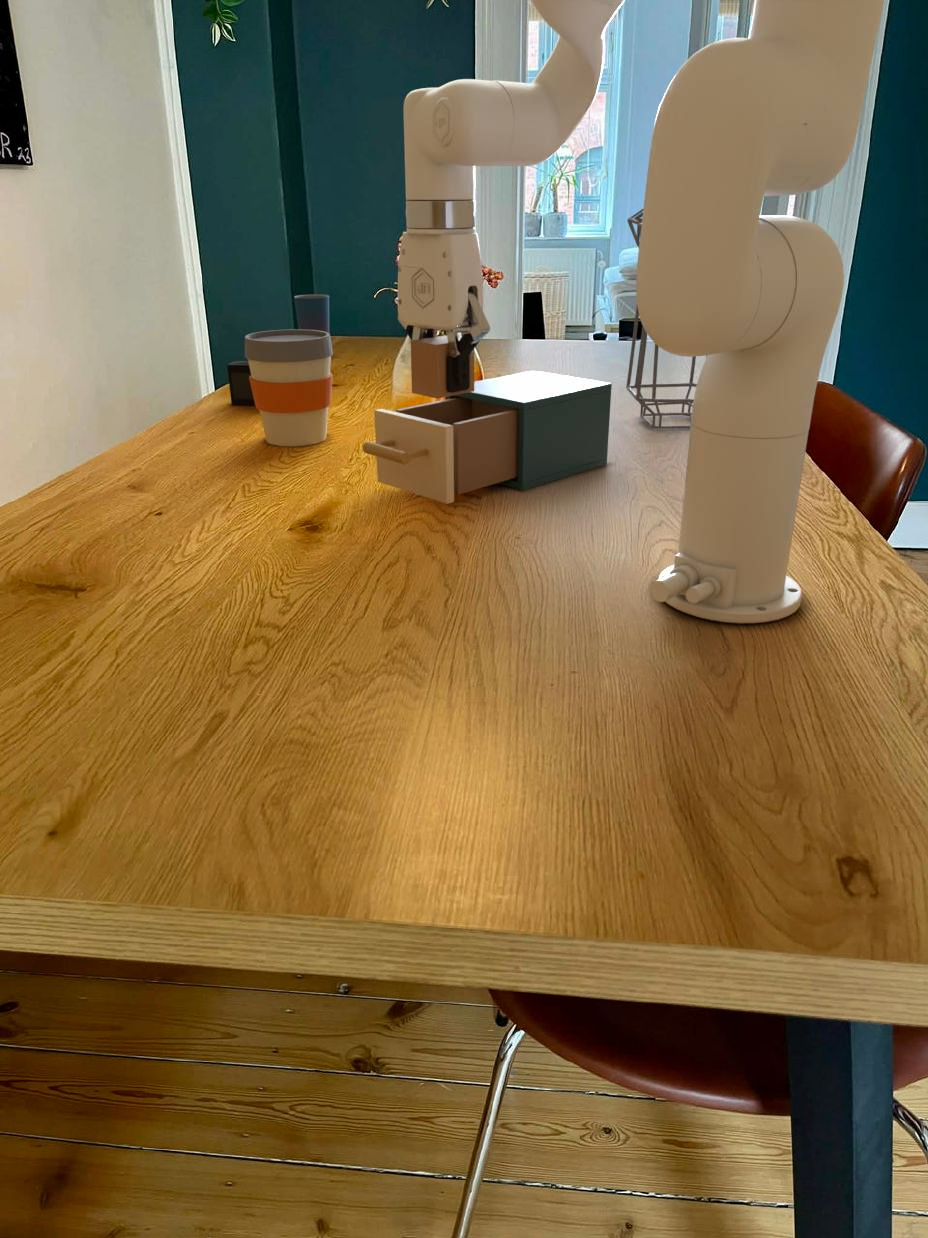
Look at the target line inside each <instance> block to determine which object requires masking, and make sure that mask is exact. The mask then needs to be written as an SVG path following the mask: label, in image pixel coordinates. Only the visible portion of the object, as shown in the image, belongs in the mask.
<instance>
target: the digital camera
mask: <svg viewBox="0 0 928 1238" xmlns="http://www.w3.org/2000/svg"><path fill="white" fill-rule="evenodd" d="M226 369H227V377H228V385H229V387H228V388H229V393H230V394H229V395H230V401H231V403H230V404H231V406H251V407H252V406H255V401H254V397H253V393H252V388H251V384H250V380H249V377H250V376H251V371H250V367H249V362H248V360H234V361H232V362H230V363H228V364H226ZM255 407H256V406H255Z"/></svg>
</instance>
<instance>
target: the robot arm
mask: <svg viewBox="0 0 928 1238" xmlns="http://www.w3.org/2000/svg"><path fill="white" fill-rule="evenodd" d="M625 1H626V0H530V2H531V3H532V5H533V6H534V8H535V10H536V12H537V13H538V14H539V16H540V18H542V20H543V21H544V22H545V23H546V24H547V26H548V27H550V28H551V29H552V30H553V31H554V32H555V33H556V34H557V35H558V36H557V41H556V42H555V46H554V48H553V49H552V51H551V53H550V54H549V57H548V58H547V60H546V61H545V63H544V64H543V66H542V67H541V69H540V70H539V72H538V74H536V75H535V77H534V79H532V81H531V82H530V83H529V82H521V81H519V82H518V81H508V80H507V81H506V80H495V79H494V80H493V79H490V80H488V79H477V78H475V79H474V78H461V79H456V80H452V81H449V82H447V83H445V84H443V85H441V86H438V87H425V88H424V87H423V88H418V89H414V90H411V91H410V92H408V93H407V95H406V97H405V98H404V101H403V138H404V139H403V142H404V143H403V145H404V147H403V148H404V178H405V182H404V183H405V213H404V214H405V217H406V231H403V232H402V235H401V240H400V248H399V256H398V270H397V313H398V314H397V320H398V322H399V324H401V325H402V327H403V329H404V330H405V331H406V334H407V336H408V337H409V339H410V342H411V341H412V340H419V339H426V338H433V337H438V330H441V331H445V332H446V336H447V338H448V344H449V350H450V355H451V356H449V357H446V376H447V391H448V392H451V393H453V392H458V391H463V390H468V389H469V387H470V355H472V354H473V353H474V354H475V349H476V347H477V345H478V344H479V343H480V342H481V340H482V339H483V338H484V337H486V335H488V333H490V331H491V327H490V323H489V322H488V320H487V318H486V315H485V313H484V277H483V276H484V275H483V264H482V263H483V262H482V254H481V249H480V241H479V235H478V232H476V200H475V199H476V190H475V189H476V167H494V166H495V167H533V166H537V165H540V164H542V163H544V162H546V161H547V160H549V159H550V158H551V157H552V156H554V155H555V154H556V153H557V152H558V151H559V150H560V149H561V148H562V147H563V146H564V144H565V143H566V142H567V141H568V140H569V138H570V137H571V135H572V134H574V132H575V130H576V129H577V128H578V126H579V125H580V124H581V122H582V121H583V119H584V118H585V117H586V115H588V112H589V110H590V109H591V108H592V105H593V103H594V102H595V99H596V96H597V93H598V91H599V88H600V83H601V78H602V74H603V70H604V64H605V56H606V40H605V32H606V29H607V27H608V25H609V24H610V23H611V21H612V19H613V18H614V17H615V15H616V14H617V13H618V10H619V9H621V6H622V5H623V4H624V2H625ZM753 2H754V3H753V10H752V11H753V12H752V19H751V23H750V28H749V33H748V37H730V38H725V39H719V40H717V41H713V42H711V43H710V44H707V45H706V46H703V47H701V48H700V49H699V50H697V51H696V52H695V53H693V54H692V55H691V56H690V57H689V58H688V59H687V60H685V62H684V63H683V64H682V65H681V66H680V68H679V69H678V70H677V71H676V73H675V74H674V76H673V78H672V79H671V81H670V83H669V85H668V87H667V89H666V91H665V93H664V95H663V97H662V99H661V101H660V104H659V106H658V110H657V113H656V117H655V121H654V125H653V129H652V135H651V143H650V150H649V157H648V165H647V173H646V181H645V182H646V183H645V192H644V200H643V208H642V209H643V211H642V212H643V216H642V217H641V218H642V226H641V235H640V236H639V242H640V243H639V248H638V254H637V264H636V272H635V273H636V274H635V295H636V297H635V298H636V307H637V306H638V312H639V318H640V322H641V325H642V326H643V327H644V329H645V331H646V333H647V336H648V338H650V340H651V341H652V342H653V343H654V345H655V344H656V345H658V346H659V348H660V349H662V350H663V351H665V352H667V353H669V354H671V355H675V356H678V357H679V356H680V357H689V358H690V357H691V358H692V357H694V356H696V357H704V356H705V359H704V362H703V365H702V367H701V370H700V373H699V375H698V380H697V383H696V384H697V386H696V387H695V390H694V396H693V399H694V401H693V403H692V404H693V407H691V409H692V410H691V413H692V418H691V417H690V418H691V420H690V426H691V428H689V429H690V430H689V440H688V449H687V457H686V458H687V459H686V469H685V479H684V488H683V489H684V490H683V500H682V511H681V519H680V520H681V522H680V530H679V540H678V550H677V554H675V555H674V562H673V563H674V564H673V565H671V566H668V567H667V568H665V569H664V570H662V571H661V572H660V574H659V575H658V578H657V579H656V580H654V581H652V582H651V584H650V586H649V593H650V596H651V597H652V598H653V600H654V601H656V602H658V603H664V602H665V603H666V604H667V605H669V606H670V607H672V608H673V609H675V610H677V611H680V612H682V613H684V614H687V615H690V616H693V617H696V618H700V619H705V620H709V621H714V622H720V623H727V624H728V623H729V624H760V623H769V622H773V621H778V620H781V619H784V618H788V616H790V615H793V614H794V613H796V611H798V609H799V608H800V607H801V603H802V597H803V590H802V588H801V586H800V585H799V584H798V583H797V581H795V579H793V578H792V577H790V576H788V575H787V574H788V567H789V561H790V555H791V554H790V553H791V549H792V542H793V535H794V529H795V522H796V515H797V509H798V508H797V507H798V503H799V497H800V490H801V485H802V484H801V483H802V477H803V470H804V464H805V457H806V450H807V444H808V437H809V430H810V427H811V420H812V414H813V407H814V401H815V396H816V391H817V387H818V386H817V385H818V382H819V378H820V377H819V376H820V372H821V367H822V364H823V360H824V356H825V353H826V350H827V347H828V344H829V341H830V338H831V334H832V332H833V329H834V325H835V323H836V319H837V316H838V314H839V310H840V306H841V303H842V298H843V291H844V282H845V273H844V272H845V271H844V264H843V259H842V255H841V252H840V250H839V248H838V246H837V244H836V242H835V241H834V239H833V237H832V236H831V235H830V234H829V233H828V232H827V231H826V230H824V228H822V227H821V226H820V225H818V224H817V223H815V222H813V221H810V220H808V219H806V218H802V217H798V216H792V215H782V214H781V215H780V214H779V215H778V214H777V215H776V214H772V215H761V211H762V207H763V202H764V198H765V197H781V196H783V197H784V196H796V195H803V194H807V193H811V192H813V191H816V190H818V189H820V188H822V187H825V186H826V185H828V184H829V183H830V182H832V180H835V178H836V177H837V176H838V174H839V173H840V172H841V171H842V169H844V168H845V165H846V164H847V162H848V159H849V158H850V155H851V152H852V150H853V148H854V145H855V141H856V137H857V133H858V129H859V125H860V121H861V115H862V110H863V105H864V101H865V96H866V91H867V86H868V80H869V76H870V71H871V67H872V61H873V57H874V52H875V46H876V41H877V38H878V32H879V28H880V23H881V17H882V12H883V5H884V0H754V1H753ZM458 334H460V337H462V338H461V339H460V340H459V341H458V337H459V336H458ZM706 355H707V357H706Z"/></svg>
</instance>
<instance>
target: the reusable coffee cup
mask: <svg viewBox="0 0 928 1238" xmlns="http://www.w3.org/2000/svg"><path fill="white" fill-rule="evenodd" d="M331 339H332V338H331V334H330V332H329V333H328V332H324V331H318V330H299V329H274V330H265V331H257V332H252V333H248V334H246V335H245V336H244V358H245V359H247V361H248V362H249V367H250V371H251V376H250V377H249V380H250V384H251V388H252V393H253V397H254V401H255V408H256V409H257V410H258V411H259V415H260V418H261V422H262V423H261V424H262V429H263V432H264V437H265V441H266V443H268V444H270V445H273V446H278V447H305V446H311V445H316V444H319V443H322V442H324V441H325V440H326V439H327V435H328V434H327V432H328V416H329V415H328V414H329V407H330V406H331V404H332V394H333V392H332V390H333V377H334V376H333V375H334V374H333V372H331V358H332V356H333V355H334V351H333V345H332V340H331Z"/></svg>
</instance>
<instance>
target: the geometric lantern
mask: <svg viewBox="0 0 928 1238" xmlns="http://www.w3.org/2000/svg"><path fill="white" fill-rule="evenodd" d="M642 217H643V208H641V209H640V210H639V211H637V212H636V213H635V214H633V215H631V216H630V217H628V218H627V224H628V227H629V229H630V232H631V234H632V236H633V239H634V241H635V244H636V247H638V249H639V243H640V235H641V226H642ZM634 224H635V225H636V229H635V227H634ZM639 318H640V315H639V312H638V306H637V305H636V308H635V315H634V324H633V332H632V340H631V347H630V356H629V364H628V371H627V379H626V387H625V389H626V390H627V391H628V392H629V394H630V395H631V396H632V397H633V398H634V400H635V401H637V402H638V403H639V405H640V414H639V415H640V418H641V419H642V420H643V421H644V422H645V423H647V425H649V426H650V427H651V428H652V429H659V430H666V429H667V430H668V429H669V430H670V429H672V430H673V429H690V428H691V425H662V422H663V421H662V419H663V416H667V417H669V416H684V417H690V418H692V412H691V409H692V408H693V401H694V398H689V396H690V394H691V390H692V387H694V388H696V386H697V383H695V382H694V377H695V376H694V375H695V367H696V359H697V358H696V357H697V356H694V357H691V367H690V375H689V382H679V383H678V382H677V383H676V382H675V383H672V382H671V383H657V379H658V378H657V377H658V362H659V361H658V360H659V348H660V347H659V346H658V345H656V344H655V343H654V352H653V353H654V355H653V369H652V371H653V372H652V383H642V381H643V373H644V366H645V357H646V351H647V342H648V334H647V333H646V331H645V329H644V327H643V325H642V327H641V335H640V343H639V351H638V357H637V364H636V365H637V366H636V372H635V373H636V374H635V380H634V381H635V382H634V384H631V380H632V374H633V373H632V372H633V365H634V358H635V350H636V344H637V343H636V342H637V334H638V327H639ZM706 357H707V355H705V358H706ZM679 387H680V388H681V387H684V388H686V387H688V390H687V391H686V395H685V398H656V397H657V388H679ZM646 388H652V390H651V397H650V398H649V397H643V394H642V391H641V390H642V389H646ZM633 389H635V390H636V392H635V391H634V390H633ZM667 405H671V406H672V405H681V412H661V410H660V407H659V406H667ZM650 406H655V409H656V412H654V410H652V409H651V408H650ZM685 406H688V407H687V412H685ZM647 411H648V413H646V412H647ZM658 416H659V417H658ZM646 417H652V422H651V421H649V420H648V418H646ZM656 417H658V425H656Z"/></svg>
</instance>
